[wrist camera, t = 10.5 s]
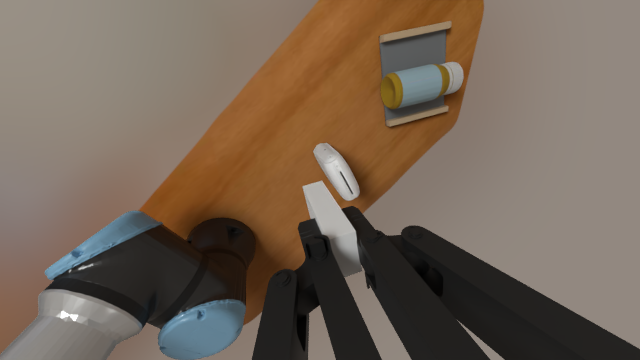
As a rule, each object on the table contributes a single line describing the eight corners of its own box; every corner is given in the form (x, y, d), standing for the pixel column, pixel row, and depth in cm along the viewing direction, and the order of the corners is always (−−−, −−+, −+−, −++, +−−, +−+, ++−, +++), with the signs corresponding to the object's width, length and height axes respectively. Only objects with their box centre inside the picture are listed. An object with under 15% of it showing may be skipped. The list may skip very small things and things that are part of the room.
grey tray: (385, 125, 55) (389, 126, 53) (379, 36, 47) (383, 34, 45) (442, 110, 57) (448, 111, 55) (444, 22, 49) (451, 20, 47)
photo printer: (309, 149, 52) (323, 167, 41) (325, 138, 52) (344, 154, 41) (330, 184, 57) (348, 208, 46) (345, 174, 57) (367, 197, 46)
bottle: (383, 113, 51) (443, 98, 54) (400, 105, 45) (467, 89, 47) (376, 80, 51) (437, 67, 53) (392, 68, 44) (461, 53, 46)
